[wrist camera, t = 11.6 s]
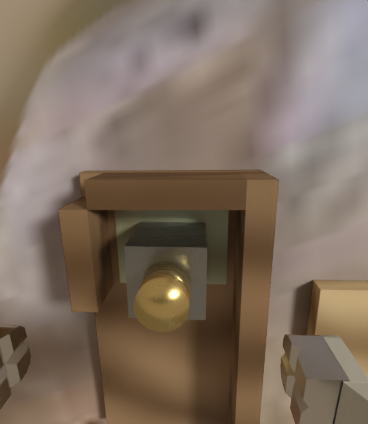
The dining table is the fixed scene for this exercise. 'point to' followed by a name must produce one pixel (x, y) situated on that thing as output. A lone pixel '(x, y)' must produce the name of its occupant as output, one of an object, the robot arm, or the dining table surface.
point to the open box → (191, 329)
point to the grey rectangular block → (166, 274)
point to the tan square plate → (342, 315)
